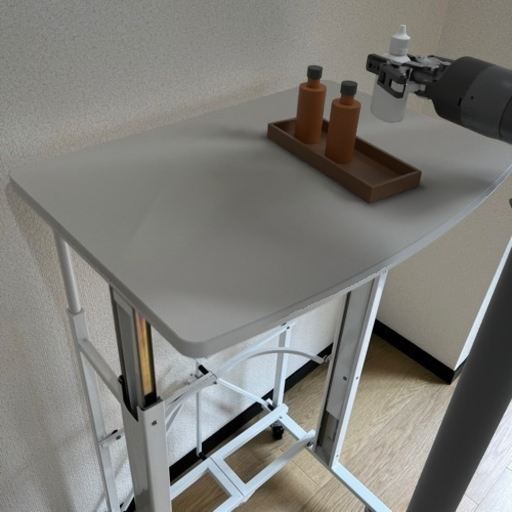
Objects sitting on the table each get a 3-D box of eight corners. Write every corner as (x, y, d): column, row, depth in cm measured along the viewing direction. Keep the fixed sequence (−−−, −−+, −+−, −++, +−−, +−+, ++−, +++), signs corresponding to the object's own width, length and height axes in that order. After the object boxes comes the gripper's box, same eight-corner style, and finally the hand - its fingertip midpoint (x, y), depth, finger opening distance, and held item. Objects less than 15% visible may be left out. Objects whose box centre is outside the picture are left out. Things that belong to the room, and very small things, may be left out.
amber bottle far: (309, 131, 96) (317, 61, 89) (325, 140, 93) (335, 69, 86) (288, 136, 94) (295, 65, 86) (304, 146, 91) (313, 73, 84)
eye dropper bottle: (400, 110, 79) (418, 22, 72) (403, 125, 74) (423, 32, 67) (369, 107, 79) (384, 19, 72) (370, 122, 75) (387, 29, 68)
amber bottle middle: (339, 149, 90) (350, 76, 83) (357, 159, 88) (370, 85, 81) (318, 154, 88) (328, 80, 81) (336, 165, 85) (348, 89, 78)
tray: (313, 126, 99) (314, 112, 97) (418, 186, 83) (422, 171, 81) (266, 137, 94) (267, 123, 93) (369, 203, 78) (372, 187, 76)
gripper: (532, 58, 65) (421, 25, 76) (454, 74, 58) (344, 35, 69) (512, 119, 69) (409, 80, 80) (437, 141, 62) (336, 94, 73)
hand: (380, 59), depth 75 cm, fingers closed on eye dropper bottle, 3 cm apart
